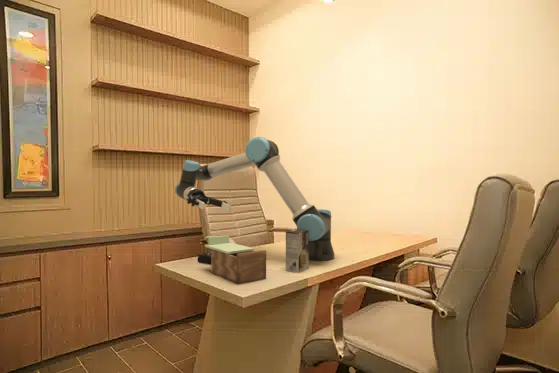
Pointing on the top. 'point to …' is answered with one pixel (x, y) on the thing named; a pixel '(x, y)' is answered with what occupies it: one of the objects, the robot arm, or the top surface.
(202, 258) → the portable cd player
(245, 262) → the box
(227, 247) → the lid
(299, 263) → the coffee box
